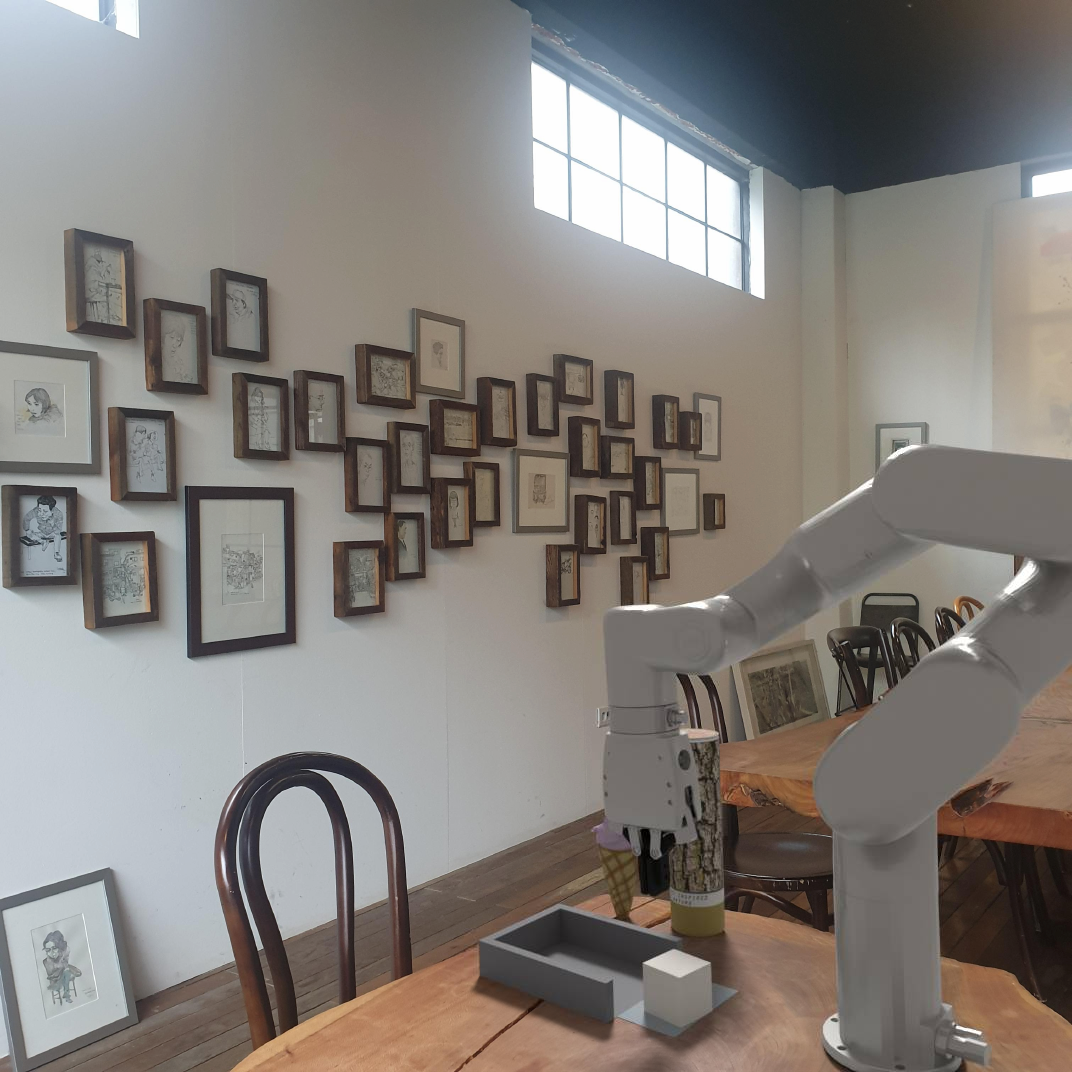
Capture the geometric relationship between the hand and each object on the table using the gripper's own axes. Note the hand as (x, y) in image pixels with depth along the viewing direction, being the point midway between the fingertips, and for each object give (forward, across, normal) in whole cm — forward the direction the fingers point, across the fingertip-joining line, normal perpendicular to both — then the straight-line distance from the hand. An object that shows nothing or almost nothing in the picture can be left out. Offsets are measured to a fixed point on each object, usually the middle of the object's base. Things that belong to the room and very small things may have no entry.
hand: (655, 891), depth 104 cm
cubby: (+12, +7, 0) cm, 14 cm away
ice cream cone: (+12, +18, -17) cm, 27 cm away
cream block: (+12, -3, +1) cm, 12 cm away
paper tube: (+12, +8, -20) cm, 24 cm away
